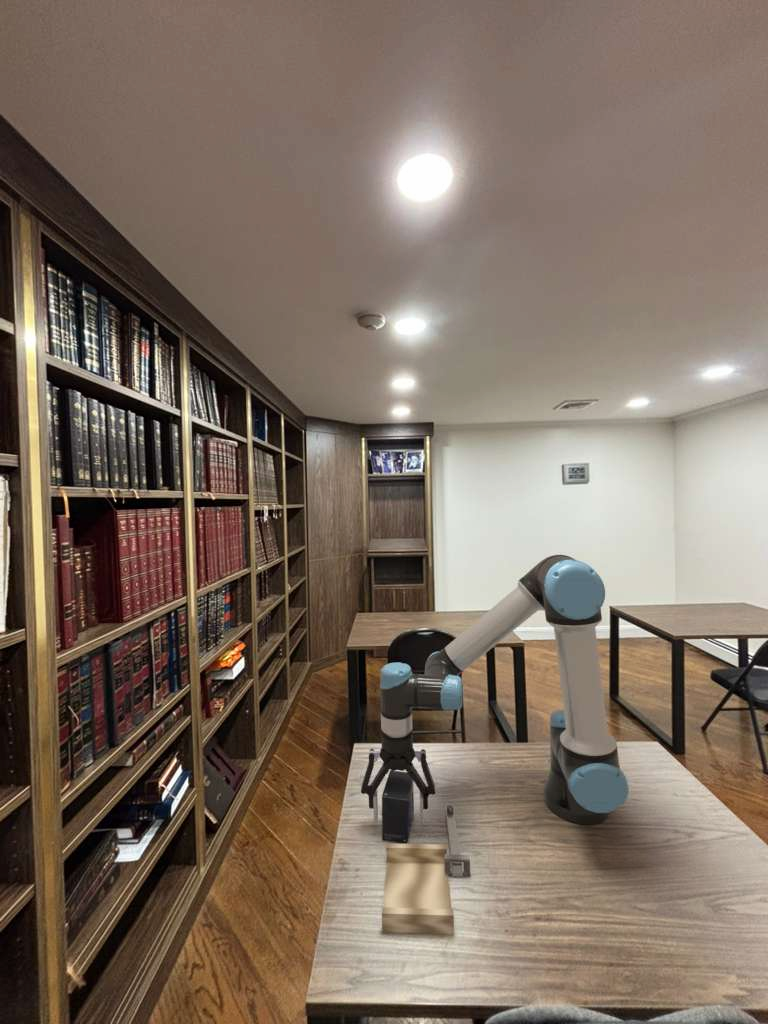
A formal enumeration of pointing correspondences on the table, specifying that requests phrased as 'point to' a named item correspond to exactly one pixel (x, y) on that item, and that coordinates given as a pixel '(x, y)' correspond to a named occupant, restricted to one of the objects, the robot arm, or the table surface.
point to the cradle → (419, 889)
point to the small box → (397, 807)
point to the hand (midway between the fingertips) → (398, 820)
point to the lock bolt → (453, 840)
